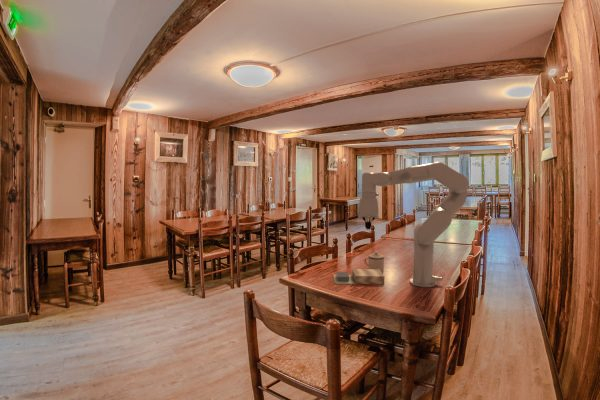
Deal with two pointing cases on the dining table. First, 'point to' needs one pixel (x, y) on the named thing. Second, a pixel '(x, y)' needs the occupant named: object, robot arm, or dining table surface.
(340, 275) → the coaster
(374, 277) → the board
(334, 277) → the placemat
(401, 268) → the dining table surface
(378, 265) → the teacup with lid
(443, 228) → the robot arm
